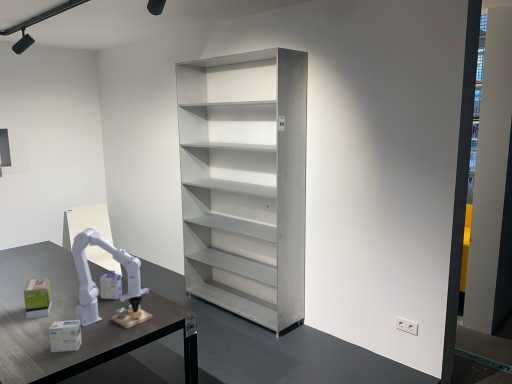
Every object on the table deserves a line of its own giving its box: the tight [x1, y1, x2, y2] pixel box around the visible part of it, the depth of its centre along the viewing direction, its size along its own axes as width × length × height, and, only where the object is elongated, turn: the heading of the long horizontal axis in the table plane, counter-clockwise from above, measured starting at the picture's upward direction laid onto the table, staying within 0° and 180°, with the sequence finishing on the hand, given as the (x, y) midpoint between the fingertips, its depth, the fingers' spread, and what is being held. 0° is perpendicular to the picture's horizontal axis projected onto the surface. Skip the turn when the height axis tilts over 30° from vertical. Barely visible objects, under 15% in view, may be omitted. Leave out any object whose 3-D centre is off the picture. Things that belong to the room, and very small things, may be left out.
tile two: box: [128, 304, 142, 311], centre depth 206 cm, size 4×4×3 cm
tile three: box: [115, 307, 129, 318], centre depth 201 cm, size 4×4×3 cm
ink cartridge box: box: [99, 270, 123, 300], centre depth 226 cm, size 10×6×14 cm, turn 82°
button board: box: [111, 309, 153, 329], centre depth 202 cm, size 14×13×2 cm
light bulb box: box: [48, 319, 82, 353], centre depth 175 cm, size 11×7×11 cm, turn 99°
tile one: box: [129, 310, 142, 319], centre depth 200 cm, size 4×4×3 cm
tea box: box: [23, 277, 52, 320], centre depth 209 cm, size 15×10×15 cm, turn 21°
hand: (135, 311), depth 200 cm, fingers closed
